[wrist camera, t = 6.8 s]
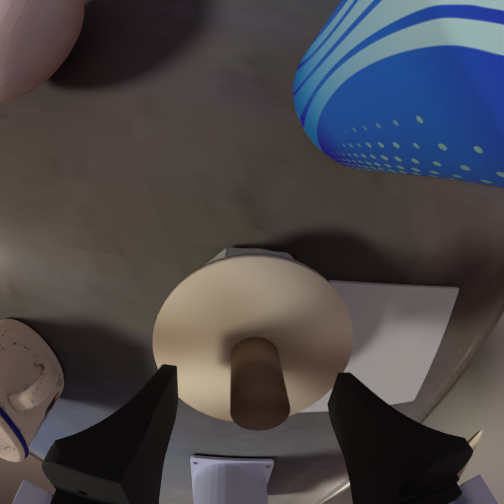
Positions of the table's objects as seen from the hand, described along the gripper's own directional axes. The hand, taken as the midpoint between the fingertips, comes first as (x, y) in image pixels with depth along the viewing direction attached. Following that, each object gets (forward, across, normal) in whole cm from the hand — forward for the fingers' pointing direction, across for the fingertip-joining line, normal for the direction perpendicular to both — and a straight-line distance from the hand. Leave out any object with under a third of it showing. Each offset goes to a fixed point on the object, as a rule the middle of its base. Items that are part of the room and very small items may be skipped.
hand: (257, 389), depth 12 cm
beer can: (+7, -5, -14) cm, 17 cm away
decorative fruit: (+7, +15, -17) cm, 24 cm away
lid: (+3, 0, 0) cm, 3 cm away
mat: (+7, -10, +3) cm, 13 cm away
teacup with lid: (+8, +18, +7) cm, 21 cm away
